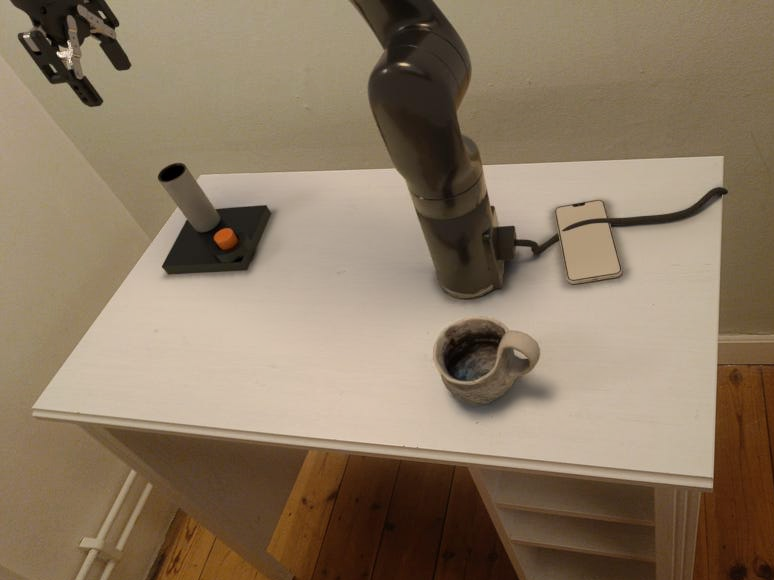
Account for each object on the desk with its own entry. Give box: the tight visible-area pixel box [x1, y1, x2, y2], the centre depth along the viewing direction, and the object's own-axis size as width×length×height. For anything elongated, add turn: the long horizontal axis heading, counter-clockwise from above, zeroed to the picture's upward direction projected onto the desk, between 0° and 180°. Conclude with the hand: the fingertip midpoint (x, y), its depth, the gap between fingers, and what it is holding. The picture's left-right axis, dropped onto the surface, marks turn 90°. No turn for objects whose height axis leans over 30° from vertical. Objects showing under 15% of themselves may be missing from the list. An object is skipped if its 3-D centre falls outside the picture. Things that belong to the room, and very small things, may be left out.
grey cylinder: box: [157, 162, 220, 232], centre depth 97 cm, size 4×4×10 cm
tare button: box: [214, 228, 238, 250], centre depth 94 cm, size 3×3×2 cm
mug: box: [432, 315, 541, 406], centre depth 71 cm, size 10×12×10 cm
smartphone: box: [553, 199, 623, 285], centre depth 85 cm, size 7×1×15 cm
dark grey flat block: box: [161, 204, 272, 275], centre depth 99 cm, size 14×13×4 cm
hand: (111, 86), depth 81 cm, fingers open, 8 cm apart
